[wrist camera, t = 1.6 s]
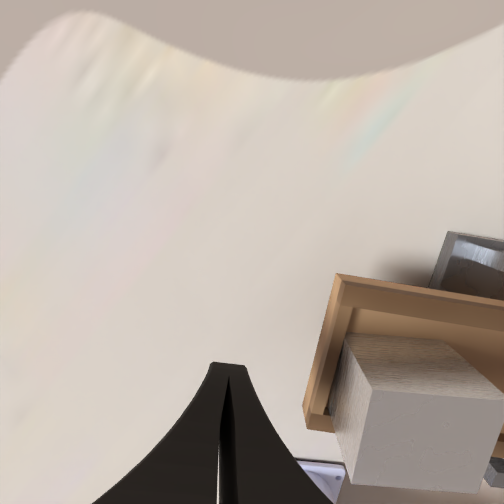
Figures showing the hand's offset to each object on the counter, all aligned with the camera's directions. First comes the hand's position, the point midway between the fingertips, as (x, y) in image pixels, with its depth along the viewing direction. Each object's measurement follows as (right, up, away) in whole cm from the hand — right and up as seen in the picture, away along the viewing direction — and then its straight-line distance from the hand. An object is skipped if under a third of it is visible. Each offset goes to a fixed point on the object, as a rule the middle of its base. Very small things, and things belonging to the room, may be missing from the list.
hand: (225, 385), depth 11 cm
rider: (+8, -1, +3) cm, 8 cm away
